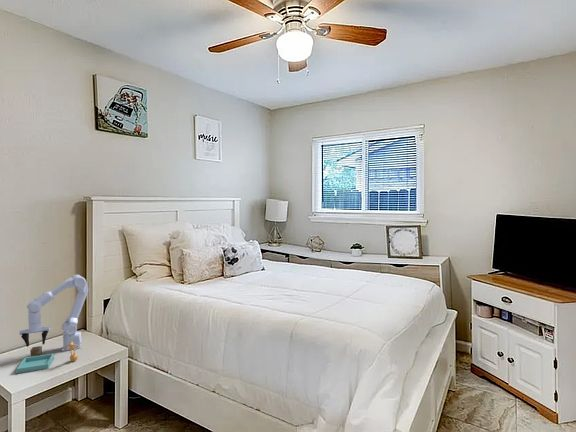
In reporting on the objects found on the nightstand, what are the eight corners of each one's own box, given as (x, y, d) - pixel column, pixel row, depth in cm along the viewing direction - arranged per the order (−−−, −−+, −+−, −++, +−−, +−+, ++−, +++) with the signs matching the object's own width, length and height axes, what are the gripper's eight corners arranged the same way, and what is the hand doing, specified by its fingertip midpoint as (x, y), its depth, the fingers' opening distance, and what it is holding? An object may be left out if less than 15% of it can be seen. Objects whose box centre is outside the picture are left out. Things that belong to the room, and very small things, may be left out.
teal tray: (54, 357, 204) (54, 353, 204) (48, 368, 191) (48, 364, 191) (25, 362, 199) (24, 357, 199) (16, 373, 186) (16, 369, 186)
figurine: (83, 358, 203) (82, 337, 202) (79, 363, 197) (78, 342, 196) (67, 359, 201) (66, 339, 201) (62, 364, 195) (61, 343, 195)
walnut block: (42, 354, 209) (41, 345, 209) (40, 357, 205) (39, 349, 205) (33, 355, 207) (32, 347, 207) (30, 358, 203) (30, 350, 203)
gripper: (51, 317, 211) (52, 340, 212) (21, 321, 206) (22, 344, 207) (48, 321, 205) (49, 344, 205) (17, 325, 199) (18, 349, 200)
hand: (35, 344), depth 206 cm, fingers open, 7 cm apart
